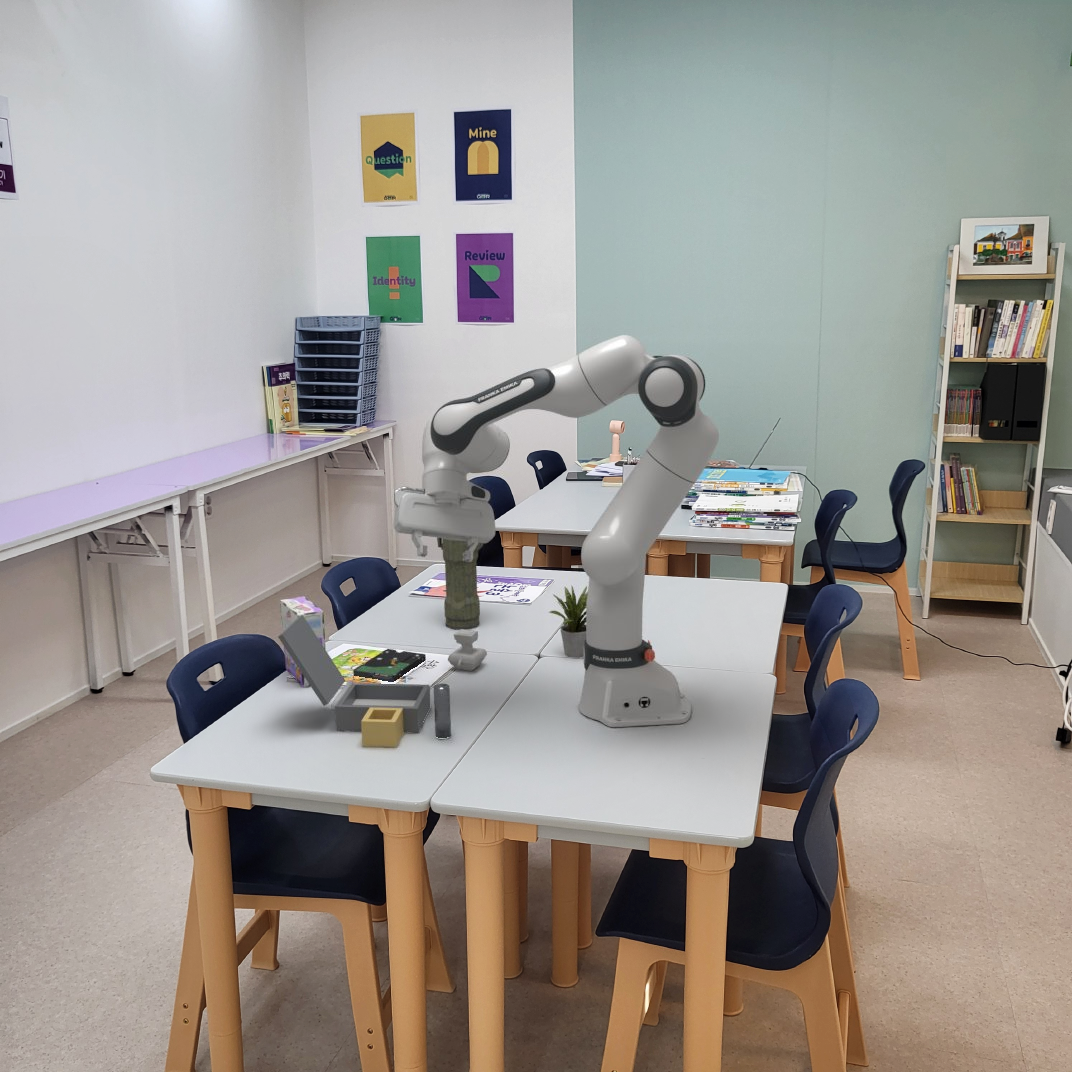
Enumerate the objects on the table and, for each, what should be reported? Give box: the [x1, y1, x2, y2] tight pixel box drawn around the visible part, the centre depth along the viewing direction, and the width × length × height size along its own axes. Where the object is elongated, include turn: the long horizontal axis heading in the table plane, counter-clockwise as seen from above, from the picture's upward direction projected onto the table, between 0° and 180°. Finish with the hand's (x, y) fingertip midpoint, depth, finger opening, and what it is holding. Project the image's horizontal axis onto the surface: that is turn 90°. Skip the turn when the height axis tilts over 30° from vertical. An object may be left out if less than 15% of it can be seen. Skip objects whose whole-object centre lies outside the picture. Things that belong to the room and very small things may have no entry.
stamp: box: [447, 629, 488, 672], centre depth 222 cm, size 9×7×8 cm
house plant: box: [548, 584, 589, 658], centre depth 227 cm, size 14×14×16 cm
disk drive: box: [352, 648, 427, 682], centre depth 221 cm, size 10×3×15 cm
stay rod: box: [433, 683, 452, 738], centre depth 186 cm, size 3×3×10 cm
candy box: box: [279, 596, 326, 688], centre depth 217 cm, size 14×6×16 cm, turn 30°
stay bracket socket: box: [361, 707, 405, 748], centre depth 186 cm, size 6×6×5 cm
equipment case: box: [330, 679, 431, 733], centre depth 195 cm, size 17×12×6 cm
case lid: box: [277, 615, 346, 707], centre depth 194 cm, size 16×12×1 cm
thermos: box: [436, 537, 484, 631], centre depth 248 cm, size 9×12×35 cm
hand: (445, 558), depth 191 cm, fingers open, 8 cm apart
